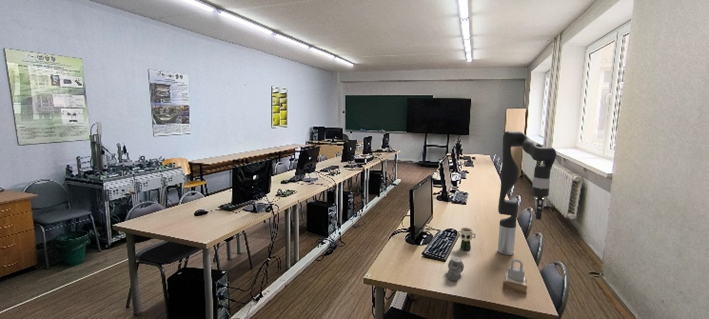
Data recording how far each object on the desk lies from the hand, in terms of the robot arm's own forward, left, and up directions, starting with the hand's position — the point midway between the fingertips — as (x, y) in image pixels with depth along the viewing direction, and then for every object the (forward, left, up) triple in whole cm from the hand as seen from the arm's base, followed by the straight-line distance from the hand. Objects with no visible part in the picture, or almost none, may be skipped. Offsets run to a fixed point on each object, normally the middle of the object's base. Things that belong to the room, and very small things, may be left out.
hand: (537, 216), depth 169 cm
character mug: (-21, -37, -33) cm, 54 cm away
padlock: (+15, -8, -29) cm, 34 cm away
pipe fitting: (+19, -37, -33) cm, 53 cm away
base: (+15, -8, -33) cm, 37 cm away
